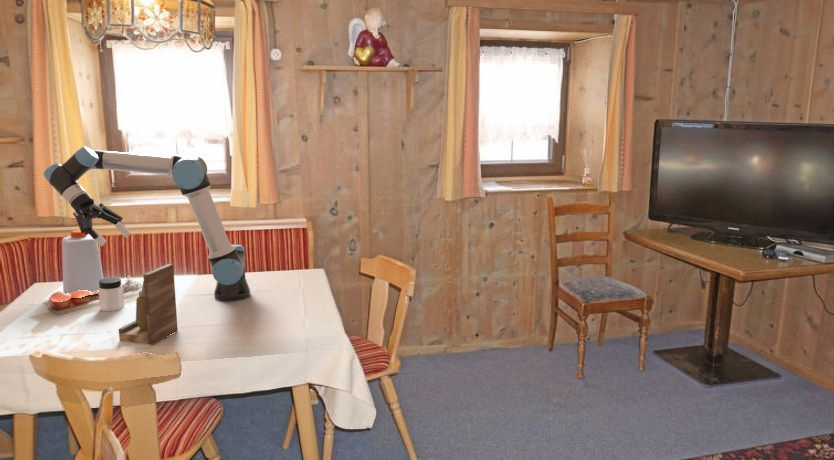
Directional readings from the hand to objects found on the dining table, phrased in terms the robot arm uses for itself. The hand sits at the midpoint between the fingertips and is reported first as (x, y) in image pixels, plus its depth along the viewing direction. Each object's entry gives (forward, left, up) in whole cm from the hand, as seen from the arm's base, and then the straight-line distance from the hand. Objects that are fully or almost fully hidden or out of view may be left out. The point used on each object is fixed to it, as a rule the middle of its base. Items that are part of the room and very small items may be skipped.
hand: (116, 239), depth 234 cm
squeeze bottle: (-15, +18, -29) cm, 37 cm away
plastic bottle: (+28, -35, -32) cm, 55 cm away
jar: (+9, -14, -32) cm, 36 cm away
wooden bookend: (-15, +18, -32) cm, 40 cm away
